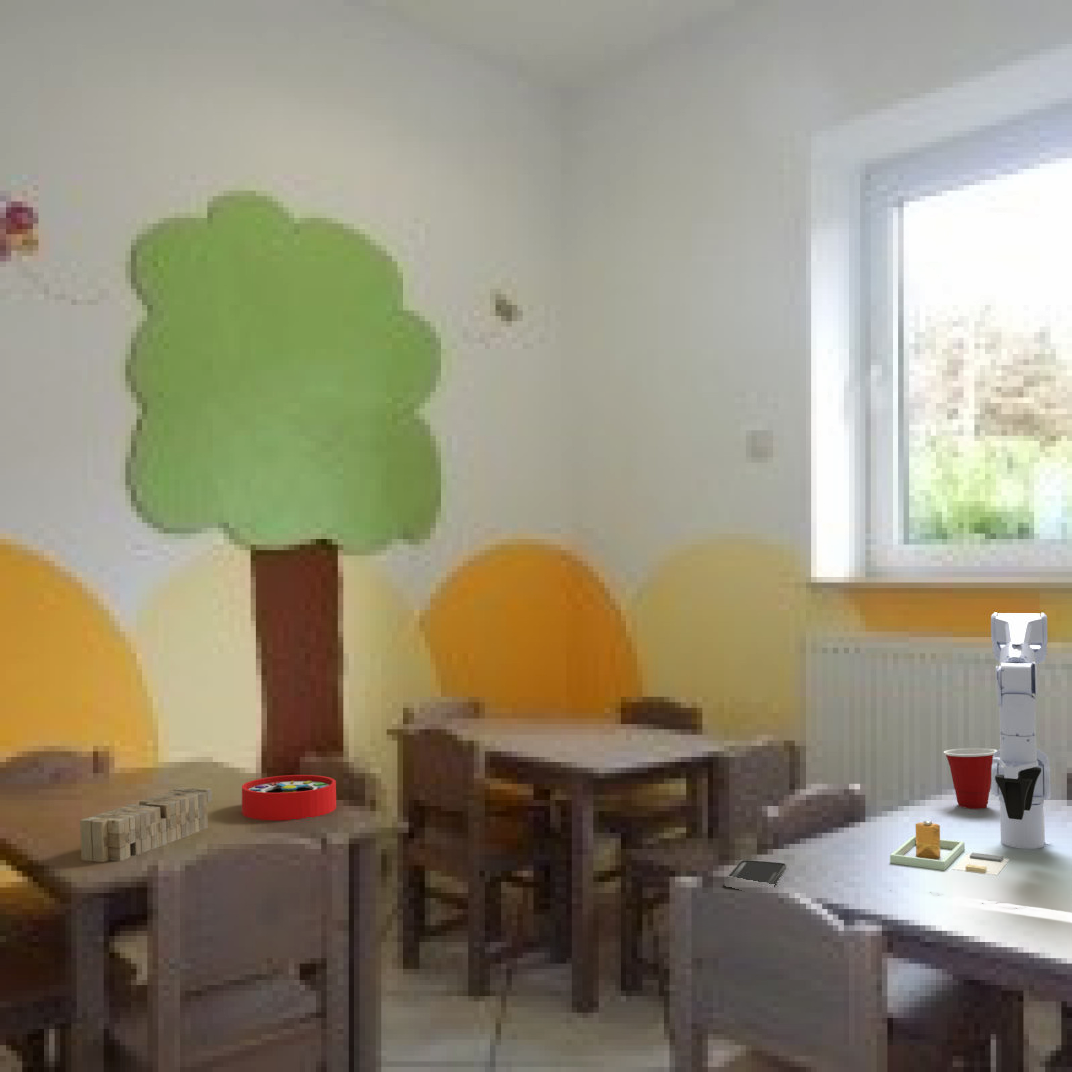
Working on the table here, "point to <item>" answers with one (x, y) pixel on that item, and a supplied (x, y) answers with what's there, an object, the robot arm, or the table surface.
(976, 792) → the plastic cup
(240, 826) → the table surface
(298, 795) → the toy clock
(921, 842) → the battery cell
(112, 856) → the block tower
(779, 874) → the phone
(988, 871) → the cream rectangular pad
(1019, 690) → the robot arm
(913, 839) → the pale green rectangular frame
